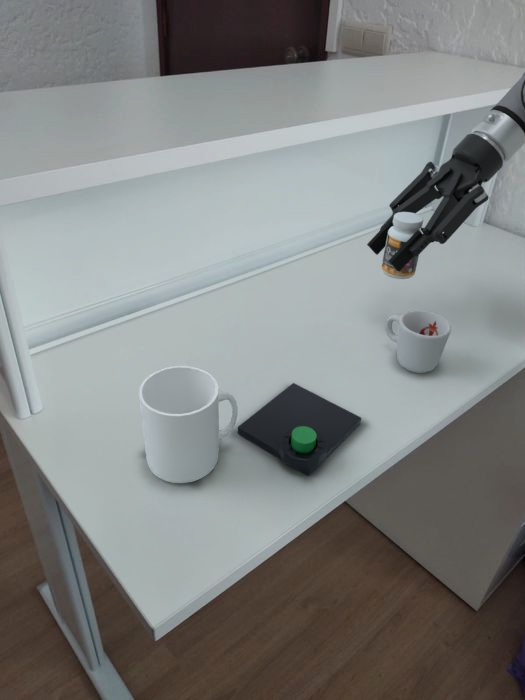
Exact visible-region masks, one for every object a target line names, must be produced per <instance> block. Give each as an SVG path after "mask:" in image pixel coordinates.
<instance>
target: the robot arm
mask: <svg viewBox="0 0 525 700" xmlns="http://www.w3.org/2000/svg"><path fill="white" fill-rule="evenodd" d="M524 145H525V72H524V73H522V75H521V77H520V78H519V79H518V80H517V81H516V82H515V83H514V84H513V85H512V87H511V88H509V90H508V91H507V92H506V93H505V95H503V97H502V98H501V99H500V100H499V101H498V102H497V103H496V104H495V105H494V106H492V108H491V109H490V110H489V112H488V113H487V114H485V116H483V117H482V119H480V121H479V122H478V123H477V124H476V125H475V126H474V127H473V128H472V129H471V133H469V134H466V135H465V136H464V137H463V139H461V141H459V143H457V145H455V147H454V148H453V150H452V154H451V157H450V158H449V159H448V160H447V161H446V162H444V163H442V164H441V165H435V164H434V163H433V161H429V162H427V163H426V164H425V166H424V167H423V169H422V170H421V172H420V173H419V174H418V175H417V176H416V177H415V178H414V179H413V180H412V181H411V182H410V183H409V184H408V185H407V187H405V188H404V189H403V190H402V191H401V192H400V193H399V194H398V195H397V196H396V197H395V198H394V199H393V200H392V201H391V202H390V203H389V205H388V206H389V208H390V210H391V211H392V214H391V215H390V216H389V218H387V220H386V221H385V222H384V223H383V224H382V225H381V226H380V228H379V231H377V233H376V234H375V235H374V236H373V237H372V238H371V239H370V240H369V241H368V243H367V244H366V246H367V247H369V249H370V250H371V251H372V252H373V253H374V254H375V255H376V256H378V255H379V254H380V253H381V252H382V251H383V250H384V249H385V245H386V240H387V234H388V230H389V229H390V228H391V227H392V226H394V225H393V218H394V215H395V214H396V213H399V212H411V213H415V214H418V212H420V211H421V210H422V209H424V208H425V207H427V206H428V205H429V204H431V203H432V202H433V201H435V200H440V199H441V198H442V199H441V201H440V203H439V204H438V206H436V209H435V210H434V211H433V213H432V215H431V216H430V218H429V220H428V221H427V223H426V225H425V226H424V227H423V226H422V227H421V228H420V231H421V232H422V233H421V232H420V231H418V230H417V231H416V232H415V233H414V235H413V236H412V237H411V238H410V239H409V240H408V241H407V242H406V243H405V244H404V245H403V246H402V247H401V248H400V249H399V250H398V251H397V252H396V253H395V254H394V255H393V257H392V258H391V259H390V260H389V262H390V263H391V264H392V265H393V267H394V268H395V269H396V270H397V271H400V270H401V269H402V268H403V267H404V266H405V265H406V264H407V263H408V262H409V261H410V260H411V259H412V258H413V257H414V256H418V255H419V256H420V254H421V253H422V252H423V251H424V250H425V249H426V248H427V247H428V246H429V245H430V244H431V243H434V242H436V243H439V245H444V244H445V243H447V241H448V240H449V239H450V238H451V237H452V236H453V235H454V234H455V233H456V232H457V230H458V229H459V228H460V227H461V226H462V225H463V223H465V221H466V220H467V219H468V218H469V217H470V216H471V215H472V214H473V212H474V211H475V210H476V209H477V208H478V207H479V206H481V205H483V204H484V203H485V202H488V200H489V198H490V197H489V195H488V193H487V192H486V190H485V189H484V187H483V186H482V185H483V184H485V183H488V182H489V181H490V180H491V179H492V178H493V177H494V176H495V175H496V174H497V173H498V172H499V171H500V170H501V169H502V168H503V166H504V163H508V162H509V161H510V160H511V158H512V157H514V155H515V154H516V153H517V152H518V151H519V150H520V149H521V148H522V147H523V146H524Z"/></svg>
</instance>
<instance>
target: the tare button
mask: <svg viewBox="0 0 525 700" xmlns="http://www.w3.org/2000/svg"><path fill="white" fill-rule="evenodd" d="M316 437H317V435H316V432H315V431H314V430H313V429H311V428H309V427H306V426H300V427H297V428H295V429H294V430H293V431H292V436H291V446H292V448H293V449H294V450H295V451H297V452H300V453H309V452H311V451H313V450H314V448H315V445H316Z"/></svg>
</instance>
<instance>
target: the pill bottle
mask: <svg viewBox="0 0 525 700" xmlns="http://www.w3.org/2000/svg"><path fill="white" fill-rule="evenodd" d="M423 224H424V218H423V216H422V215H420V214H418V213H411V212H399V213H396V214H395V215H394V218H393V225H394V226H392V227H391V228H390V229H389V230H388V234H387V240H386V245H385V247H384V251H383V256H382V262H381V272H382V273H383V274H384V275H385V276H387V277H389V278H392V279H396V280H407V279H411V278H413V277H414V276H415V274H416V271H417V265H418V262H419V261H418V260H419V256H420V254H419V255H418V256H414V257H413V258H412V259H411V260H410V261H409V262H408V263H407V264H406V265H405V266H404V267H403V268H402V269H401V270H400V271H397V270H396V269H395V268H394V267H393V265H392V264H391V263H390V262H389V260H390V259H391V258H392V257H393V255H394V254H395V253H396V252H397V251H398V250H399V249H400V248H401V247H402V246H403V245H404V244H405V243H406V242H407V241H408V240H409V239H410V238H411V237H412V236H413V235H414V233H415V232H416V231H417V230H418V231H420V232H421V233H422V234H423V232H422V231H421V227H422V228H423Z"/></svg>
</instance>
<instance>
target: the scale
mask: <svg viewBox="0 0 525 700" xmlns="http://www.w3.org/2000/svg"><path fill="white" fill-rule="evenodd" d="M361 422H362V417H361V416H359V415H357V414H355V413H353V412H352V411H349V410H347V409H345V408H343V407H341V406H339V405H337V404H335V403H333V402H331V401H330V400H328V399H326V398H324V397H322V396H320V395H318V394H316V393H314V392H312V391H310V390H308V389H307V388H304V387H302V386H300V385H299V384H297V383H295V382H293V383H291V384H290V385H289V386H287V387H286V388H285V389H284V390H283V391H281V392H280V393H278V394H277V395H276V396H274V398H272V399H271V400H270V401H268V403H266V404H265V405H264V406H262V407H261V408H260V409H258V410H256V412H254V413H253V414H252V415H250V417H248V418H247V419H246V420H244V421H243V422H242V423H241V424H239V425H238V426H237V435H239V436H241V437H242V438H244V439H246V440H247V441H249V442H251V443H252V444H254V445H255V446H256V447H259V448H261V449H262V450H263V451H265V452H267V453H269V454H270V455H272V456H274V457H276V458H277V459H279V460H280V461H282V462H284V463H285V464H286V465H289V466H290V467H292V468H293V469H295V470H297V471H299V472H300V473H302V474H303V475H305V476H307V477H309V476H310V475H312V474H313V473H314V471H315V470H316V469H317V468H318V467H319V466H320V465H321V464H322V463H323V462H324V461H325V460H327V458H328V457H330V455H331V454H332V453H333V452H334V451H336V450H337V448H338V447H339V446H340V445H341V444H342V443H343V442H344V441H345V440H346V439H347V438H348V437H349V436H350V435H351V434H352V433H354V431H355V430H356V429H357V428H358V427H359V426H360V425H361ZM300 426H306V427H309V428H311V429H313V430H314V431H315V432H316V435H317V437H316V445H315V448H314V450H313V451H311V452H309V453H300V452H297V451H295V450H294V449H293V448H292V446H291V436H292V431H293V430H294V429H295V428H297V427H300Z"/></svg>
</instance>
